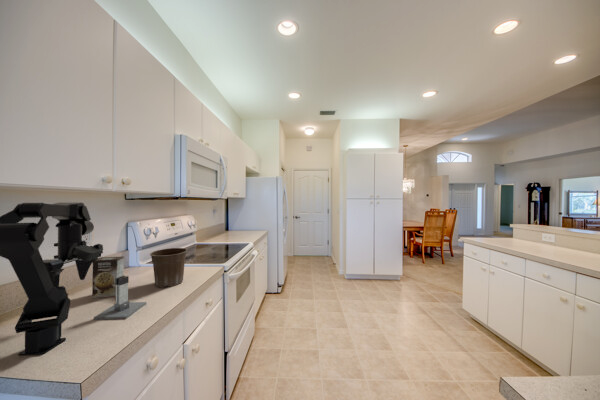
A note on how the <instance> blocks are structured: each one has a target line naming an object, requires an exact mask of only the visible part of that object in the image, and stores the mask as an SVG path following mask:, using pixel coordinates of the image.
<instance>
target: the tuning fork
mask: <svg viewBox="0 0 600 400" xmlns="http://www.w3.org/2000/svg"><path fill="white" fill-rule="evenodd" d="M129 278H130V277H129V276H128V275H123V276H121V277H118V278H115V285H116V296H115V303H114V304H113V305H114V310H115V311H119V312H121V311H123V310H125V309H128V308H129V302H130V301H129Z"/></svg>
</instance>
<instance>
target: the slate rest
mask: <svg viewBox="0 0 600 400" xmlns="http://www.w3.org/2000/svg"><path fill="white" fill-rule="evenodd" d="M146 305H147V301H133V302H130V301H129V308H128V309H125V310H123V311H121V312H119V311H115V310H114V304H113V305H112V306H109V307H108V308H106V309H105V310H103V311H102V312H100V313H98V314H97V315H95V316H94V317H93V321H95V320H121V319H122V320H123V319H128V318H130V317H131V316H132V315H134V313H136V312H137V311H139V310H140V309H141V308H143V307H144V306H146Z"/></svg>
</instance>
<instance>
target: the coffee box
mask: <svg viewBox="0 0 600 400" xmlns="http://www.w3.org/2000/svg"><path fill="white" fill-rule="evenodd" d="M124 261H125V256H123V255H122V256H107V257H106V256H104V257H103V256H101V257H98V259H97V260H95V261H94V262H93V263H92V278H91V279H92V286H91V287H92V289H91V291H92V292H91V293H92V295H91V298H92V299H95V298H96V299H97V298H107V297H108V298H110V297H116V285H115V278H118V277H121V276H124V274H125V273H124V272H125V270H124V269H125V268H124V266H125V264H124V263H125V262H124Z"/></svg>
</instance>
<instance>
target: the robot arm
mask: <svg viewBox="0 0 600 400" xmlns="http://www.w3.org/2000/svg"><path fill="white" fill-rule="evenodd" d="M48 217H51V218H52V219H55V220H57V221H58V222H57V223H56V224H55V228H57V242H54V243H53V247H57V254H55V255H53V259H43V257H42V255H41V253H40V250H39V249H40V247H41V245H42V244H43V242H44V240H45V235H46V234H47V232H48V231H49V228H50V225H49V223H48V221H47V218H48ZM31 218H32V219H35V218H40V219H39V221H38V222H37V223H36V222H22V221H23V220H24V219H31ZM91 220H92V219H91V216H90V214H89V210H88V208H87V205H85V203H84V202H56V203H45V202H22V203H18V204H17V205H16V206H15V207H14V208H13V209H12V210H10V211H8V212H6V213H5V214H3V215H1V216H0V258H1V257H2V258H4V259H6V260H8V261H9V264H10V265H11V267H12V269H13V271H14V273H15V275H16V277H17V279H18V282H19V283H20V285H21V287H22V288H23V291H24V293H25V295H26V297H27V299H28V300H27V301H26V303H25V304H24V306H23V307H22V313H21V314H20V316H19V319H18V320H17V322H16V324H15V327H14V330H15V333H16V334H20V333H24V349H23V350H21V351H19V352H18V356H31V355H32V356H33V355H35V356H36V355H44V354H46V353H47V352H49V351H51V350H53V348H56V347H58V345H60V344H62V343H63V342H65V341H67V338H66V337H62V324H63V323H64V322H66V321H67V320H68V318H69V312H70V307H71V300H70V298H69V293H68V292H67V289H66V287H65V286H63V285H61V286H60V277H61V276H60V275H61V273H63V272H64V270H65V268H63V267H64V266H65V264H69V263H73V262H74V263H75V265H76V269H77V274H78V278H79V280H81V281H83V280H85V278H86V277H87V275H88V272H89V269H90V267H91V265H93V262H94V261H95V260H97V259H98V258H101V257H102V254H103V253H104V245H103V244H101V243H96V244H94V245H87V241H86V240H83V236H86V235H89V234H91V233H92V232H93V231H94V229H95V225H94V224H93V222H91ZM54 317H55V318H54ZM47 318H48V319H47ZM42 319H43V320H42Z"/></svg>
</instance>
